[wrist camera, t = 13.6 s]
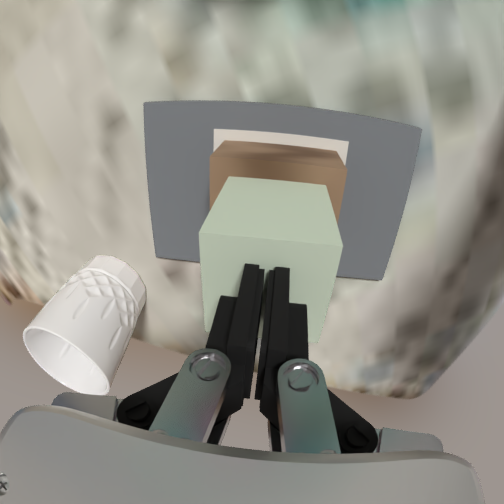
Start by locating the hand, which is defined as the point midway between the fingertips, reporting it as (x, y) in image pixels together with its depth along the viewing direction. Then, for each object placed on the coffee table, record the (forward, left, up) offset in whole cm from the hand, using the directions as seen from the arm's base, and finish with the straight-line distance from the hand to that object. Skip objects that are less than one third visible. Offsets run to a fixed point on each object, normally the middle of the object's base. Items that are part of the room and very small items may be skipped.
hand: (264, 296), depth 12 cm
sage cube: (0, 0, -6) cm, 6 cm away
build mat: (0, 0, -10) cm, 10 cm away
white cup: (+14, +10, -11) cm, 20 cm away
